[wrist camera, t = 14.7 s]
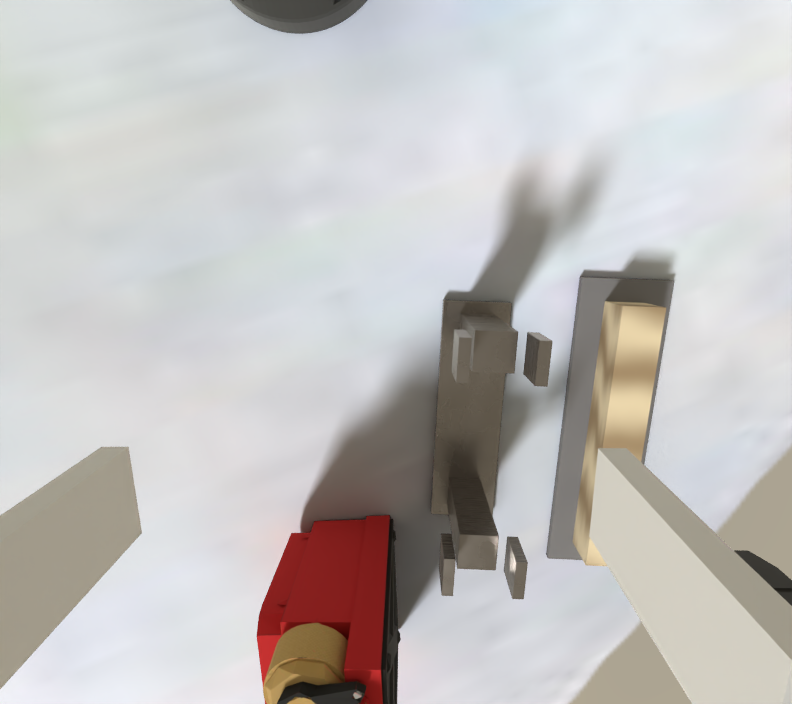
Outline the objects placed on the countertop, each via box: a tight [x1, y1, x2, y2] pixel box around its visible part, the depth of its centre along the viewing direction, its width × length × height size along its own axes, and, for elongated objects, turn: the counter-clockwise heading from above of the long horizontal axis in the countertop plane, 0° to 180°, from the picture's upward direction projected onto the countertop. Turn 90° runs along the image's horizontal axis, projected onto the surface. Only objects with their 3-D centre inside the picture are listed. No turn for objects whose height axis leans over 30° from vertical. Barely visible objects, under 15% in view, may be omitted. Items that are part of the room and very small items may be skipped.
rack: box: [431, 300, 552, 599], centre depth 38 cm, size 21×6×13 cm, turn 178°
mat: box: [546, 277, 674, 560], centre depth 44 cm, size 28×8×1 cm, turn 178°
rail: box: [573, 301, 666, 566], centre depth 42 cm, size 24×4×4 cm, turn 178°
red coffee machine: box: [257, 515, 400, 704], centre depth 39 cm, size 16×10×20 cm, turn 2°
